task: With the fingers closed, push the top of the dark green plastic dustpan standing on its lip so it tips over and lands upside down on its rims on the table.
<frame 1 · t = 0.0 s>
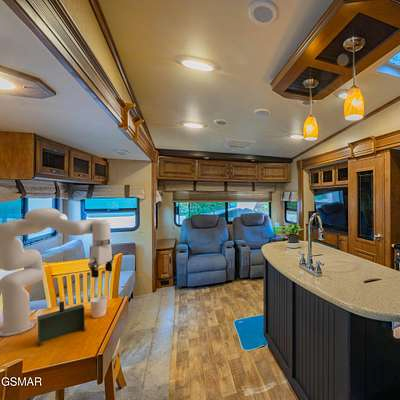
hand: (102, 273, 133), 31 cm above the table, tool pointing down, fingers open, 9 cm apart
dustpan: (62, 336, 128), on the table
white cup: (99, 315, 149), on the table
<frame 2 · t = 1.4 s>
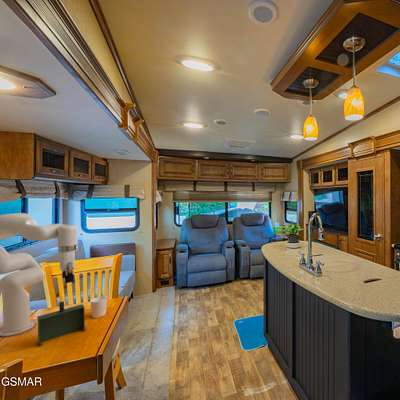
hand: (67, 279, 131), 28 cm above the table, tool pointing down, fingers open, 9 cm apart
nothing on the table moved.
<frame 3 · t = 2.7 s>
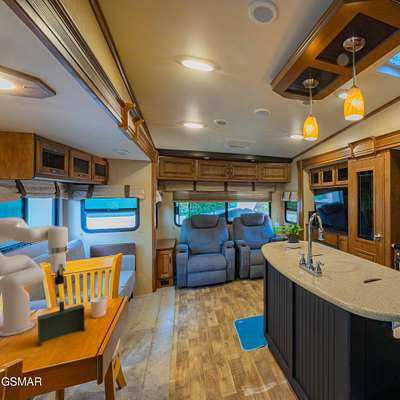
hand: (59, 283, 130), 26 cm above the table, tool pointing down, fingers closed
nothing on the table moved.
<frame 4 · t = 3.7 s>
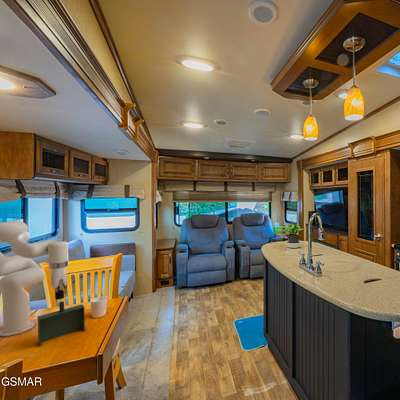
hand: (59, 298, 131), 18 cm above the table, tool pointing down, fingers closed
nothing on the table moved.
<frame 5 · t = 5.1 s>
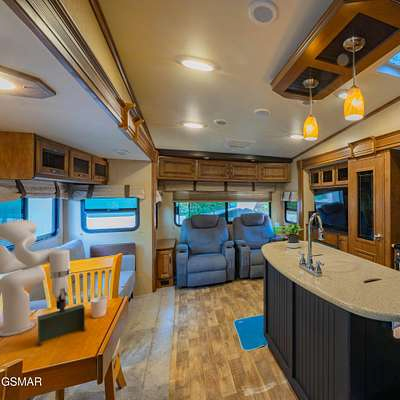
hand: (61, 307, 129), 15 cm above the table, tool pointing down, fingers closed
dustpan: (62, 336, 128), on the table, touching gripper
everything else where it was.
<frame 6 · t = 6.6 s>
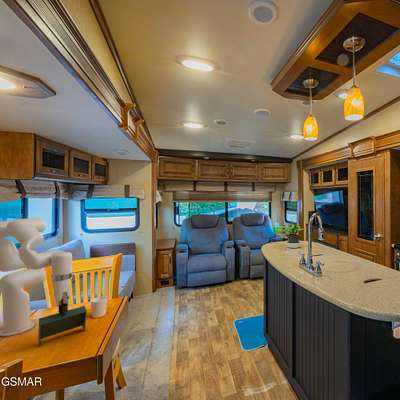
hand: (63, 311, 125), 14 cm above the table, tool pointing down, fingers closed
dustpan: (62, 334, 128), point 1 cm above the table, tilted 21°
everything else where it was.
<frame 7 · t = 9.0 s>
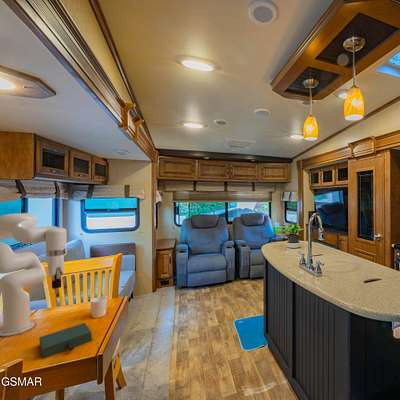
hand: (56, 287, 125), 27 cm above the table, tool pointing down, fingers closed
dustpan: (63, 333, 126), point 2 cm above the table, tilted 90°
everything else where it was.
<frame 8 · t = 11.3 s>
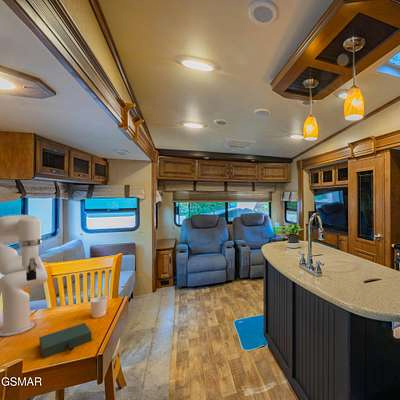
hand: (31, 279, 121), 32 cm above the table, tool pointing down, fingers closed
nothing on the table moved.
at the end: dustpan tilted 90°; dustpan inside the target area (0.6 cm from its centre), point 2.3 cm above the table; the gripper is holding nothing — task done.
